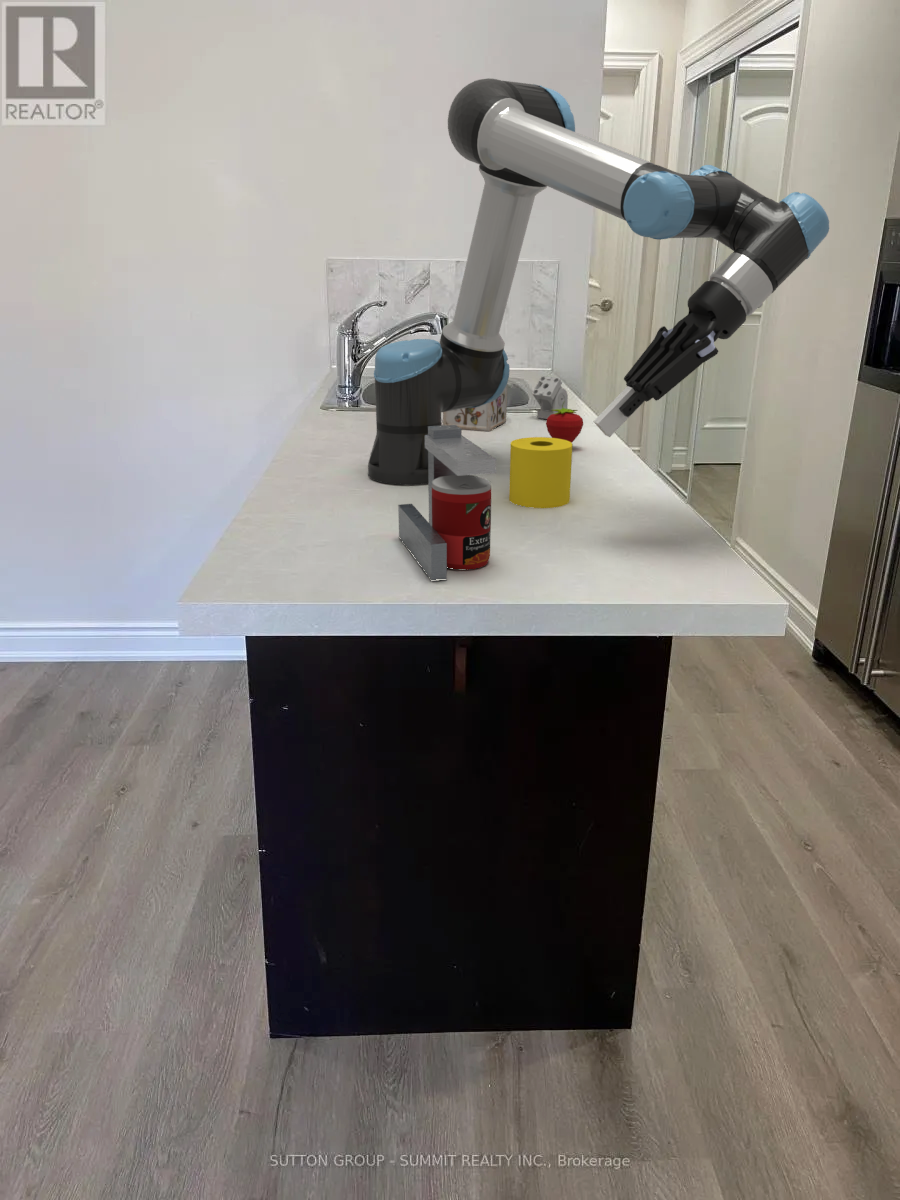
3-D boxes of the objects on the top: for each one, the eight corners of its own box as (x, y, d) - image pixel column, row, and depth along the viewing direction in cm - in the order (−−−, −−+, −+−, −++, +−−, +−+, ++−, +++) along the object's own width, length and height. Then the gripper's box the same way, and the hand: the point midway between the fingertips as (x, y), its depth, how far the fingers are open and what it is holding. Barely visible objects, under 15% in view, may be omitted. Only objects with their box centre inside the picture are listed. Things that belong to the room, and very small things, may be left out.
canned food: (472, 575, 117) (473, 492, 113) (420, 564, 121) (419, 484, 117) (500, 558, 123) (502, 479, 119) (450, 548, 127) (450, 471, 123)
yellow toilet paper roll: (563, 510, 145) (566, 452, 141) (502, 505, 147) (504, 448, 144) (574, 494, 153) (577, 439, 150) (516, 489, 156) (518, 435, 153)
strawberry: (582, 453, 182) (585, 403, 178) (544, 452, 182) (546, 402, 179) (581, 447, 187) (584, 398, 183) (544, 446, 188) (546, 397, 184)
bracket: (462, 529, 135) (462, 422, 129) (506, 574, 117) (509, 452, 111) (396, 534, 133) (394, 425, 127) (431, 581, 115) (430, 457, 109)
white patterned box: (441, 428, 205) (441, 346, 199) (460, 419, 215) (461, 340, 208) (490, 432, 201) (492, 348, 194) (508, 422, 211) (510, 343, 204)
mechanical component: (567, 418, 216) (569, 375, 212) (548, 423, 211) (550, 379, 207) (549, 415, 219) (551, 373, 215) (530, 420, 214) (531, 377, 210)
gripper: (770, 324, 116) (639, 459, 118) (716, 314, 127) (598, 437, 130) (739, 281, 112) (605, 420, 115) (687, 274, 124) (566, 401, 126)
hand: (601, 429), depth 122 cm, fingers closed
